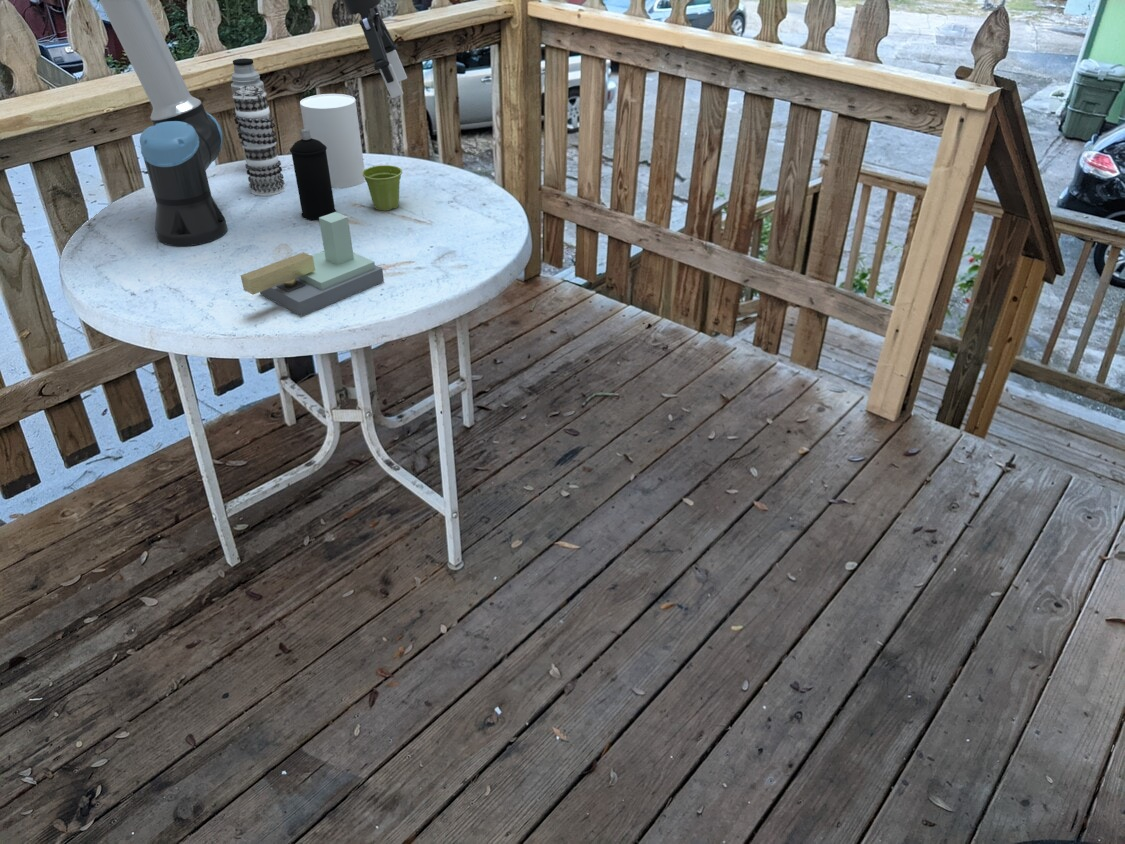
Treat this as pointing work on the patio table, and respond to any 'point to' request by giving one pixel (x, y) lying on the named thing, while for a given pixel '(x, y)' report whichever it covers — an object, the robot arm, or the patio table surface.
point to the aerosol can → (312, 177)
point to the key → (278, 273)
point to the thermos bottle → (245, 75)
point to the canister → (336, 135)
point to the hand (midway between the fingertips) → (399, 88)
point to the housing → (321, 292)
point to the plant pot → (383, 185)
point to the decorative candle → (258, 141)
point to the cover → (336, 255)
